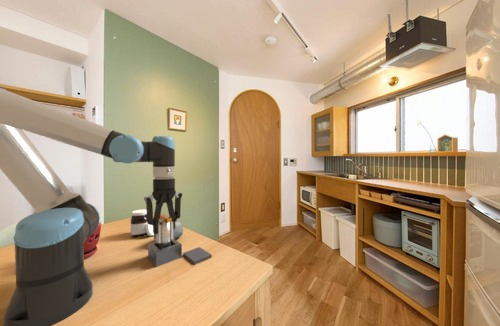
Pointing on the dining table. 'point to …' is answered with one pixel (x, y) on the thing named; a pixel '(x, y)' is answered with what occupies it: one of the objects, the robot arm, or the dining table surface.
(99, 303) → the dining table surface
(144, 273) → the dining table surface
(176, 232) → the spool
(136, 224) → the spread jar
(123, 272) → the dining table surface
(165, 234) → the chuck key
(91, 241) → the plant pot
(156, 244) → the block
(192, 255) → the rest mat
